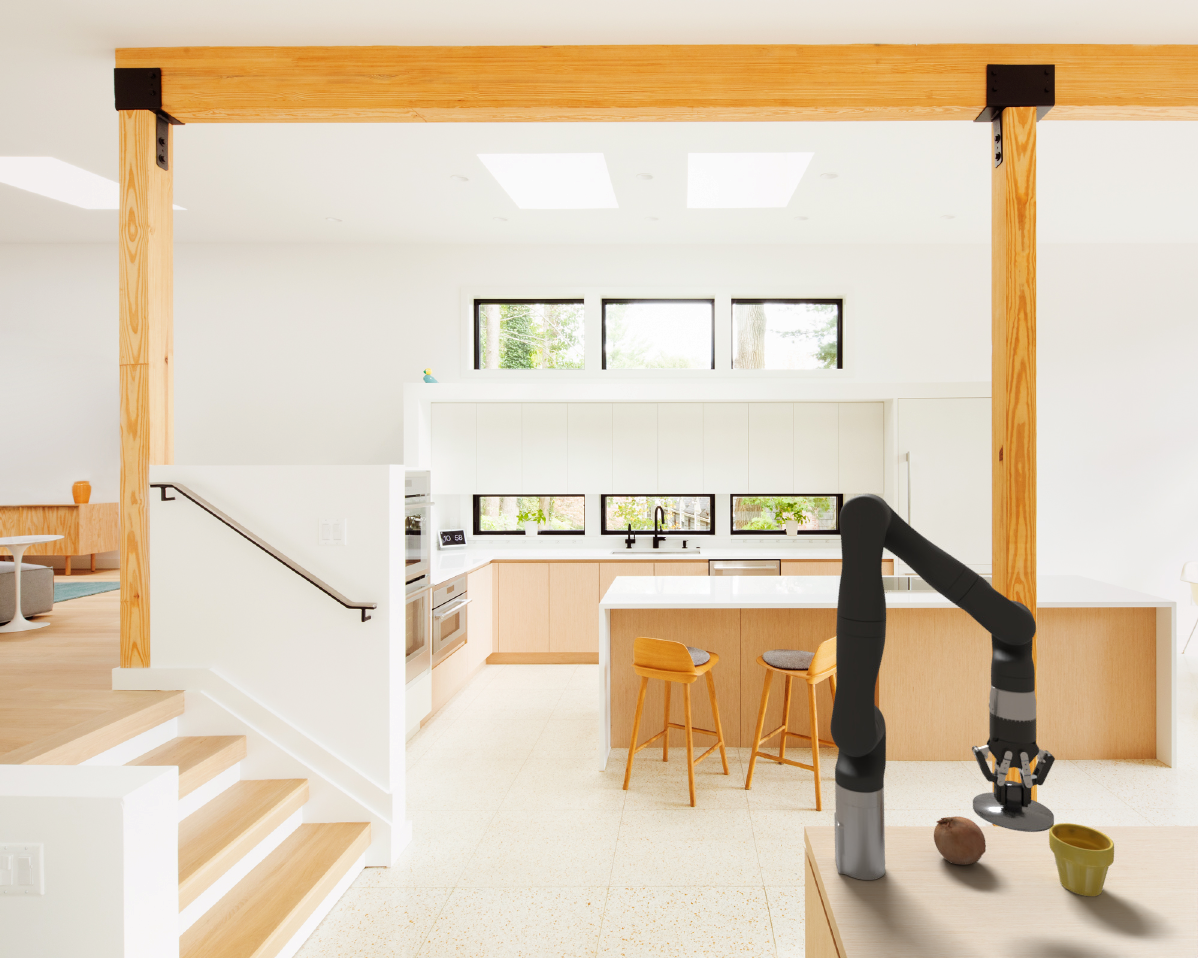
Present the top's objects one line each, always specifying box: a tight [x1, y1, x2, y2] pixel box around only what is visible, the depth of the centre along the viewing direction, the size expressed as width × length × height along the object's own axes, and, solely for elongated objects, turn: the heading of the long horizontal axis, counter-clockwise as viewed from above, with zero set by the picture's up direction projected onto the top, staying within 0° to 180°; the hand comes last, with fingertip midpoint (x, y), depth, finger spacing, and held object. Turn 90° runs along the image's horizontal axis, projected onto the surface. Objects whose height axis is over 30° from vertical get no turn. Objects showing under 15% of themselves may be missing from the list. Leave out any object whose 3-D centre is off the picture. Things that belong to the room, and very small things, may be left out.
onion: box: [933, 815, 987, 865], centre depth 148 cm, size 10×9×10 cm
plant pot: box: [1048, 822, 1115, 897], centre depth 139 cm, size 10×10×10 cm
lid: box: [972, 780, 1055, 833], centre depth 134 cm, size 13×13×6 cm
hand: (1012, 803), depth 134 cm, fingers closed on lid, 3 cm apart
